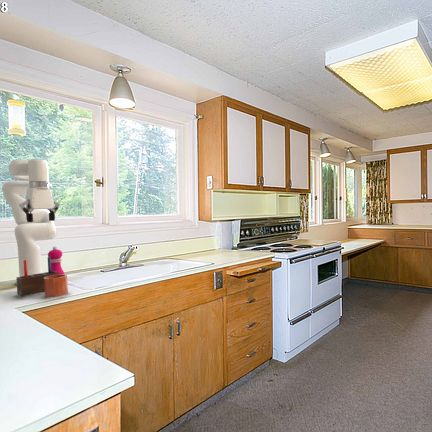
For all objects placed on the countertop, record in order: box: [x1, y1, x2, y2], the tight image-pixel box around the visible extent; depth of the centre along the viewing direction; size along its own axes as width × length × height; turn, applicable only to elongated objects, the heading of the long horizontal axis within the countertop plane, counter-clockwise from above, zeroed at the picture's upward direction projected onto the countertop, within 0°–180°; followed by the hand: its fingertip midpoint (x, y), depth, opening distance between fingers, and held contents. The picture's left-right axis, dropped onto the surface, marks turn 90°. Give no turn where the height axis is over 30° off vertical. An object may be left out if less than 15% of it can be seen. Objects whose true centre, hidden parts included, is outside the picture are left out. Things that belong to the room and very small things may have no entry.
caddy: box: [15, 271, 59, 297], centre depth 147 cm, size 5×15×9 cm, turn 148°
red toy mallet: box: [24, 260, 28, 278], centre depth 143 cm, size 3×1×16 cm, turn 57°
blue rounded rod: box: [47, 256, 51, 274], centre depth 151 cm, size 3×1×16 cm, turn 57°
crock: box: [44, 273, 69, 298], centre depth 142 cm, size 8×8×9 cm
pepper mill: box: [47, 246, 66, 274], centre depth 162 cm, size 7×7×20 cm
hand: (41, 221), depth 152 cm, fingers open, 9 cm apart
